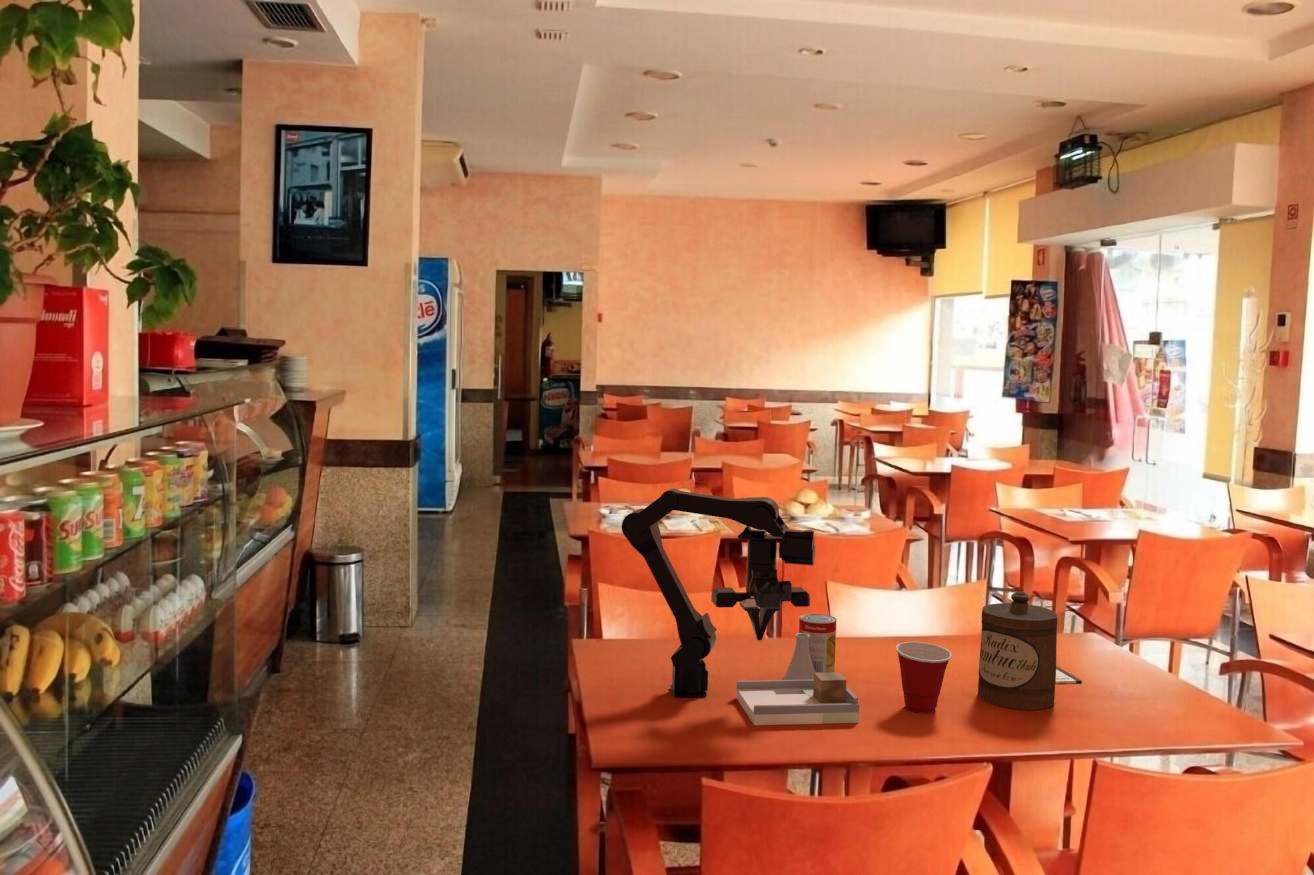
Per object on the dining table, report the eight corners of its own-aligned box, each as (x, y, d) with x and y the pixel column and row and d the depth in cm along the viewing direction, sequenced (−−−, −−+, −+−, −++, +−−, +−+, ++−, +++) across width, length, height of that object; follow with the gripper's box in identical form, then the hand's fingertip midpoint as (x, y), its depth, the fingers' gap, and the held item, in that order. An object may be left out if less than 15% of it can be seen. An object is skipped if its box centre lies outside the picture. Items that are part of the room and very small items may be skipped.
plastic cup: (917, 721, 213) (920, 659, 212) (881, 704, 222) (884, 644, 221) (961, 713, 218) (964, 653, 217) (924, 697, 227) (926, 639, 226)
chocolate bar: (1041, 657, 258) (1082, 680, 240) (1041, 661, 258) (1081, 685, 240) (1004, 657, 256) (1042, 681, 238) (1004, 661, 256) (1042, 685, 239)
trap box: (754, 725, 208) (755, 701, 208) (736, 697, 224) (736, 675, 223) (858, 722, 211) (859, 699, 211) (833, 695, 227) (834, 674, 226)
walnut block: (820, 703, 215) (821, 680, 215) (813, 695, 220) (814, 672, 220) (845, 702, 216) (846, 679, 216) (837, 694, 221) (838, 672, 221)
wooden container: (963, 696, 229) (968, 589, 227) (1004, 683, 238) (1009, 581, 237) (1028, 715, 218) (1034, 604, 216) (1068, 701, 227) (1074, 594, 225)
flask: (816, 688, 232) (818, 640, 231) (781, 685, 233) (783, 637, 232) (819, 678, 239) (821, 631, 238) (785, 675, 240) (786, 629, 239)
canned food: (833, 668, 246) (835, 614, 245) (835, 679, 238) (837, 623, 237) (797, 666, 247) (799, 612, 246) (798, 677, 239) (800, 621, 238)
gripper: (723, 570, 212) (720, 651, 213) (819, 570, 214) (816, 650, 216) (712, 559, 223) (709, 636, 224) (803, 558, 225) (800, 635, 227)
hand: (759, 639), depth 222 cm, fingers closed
